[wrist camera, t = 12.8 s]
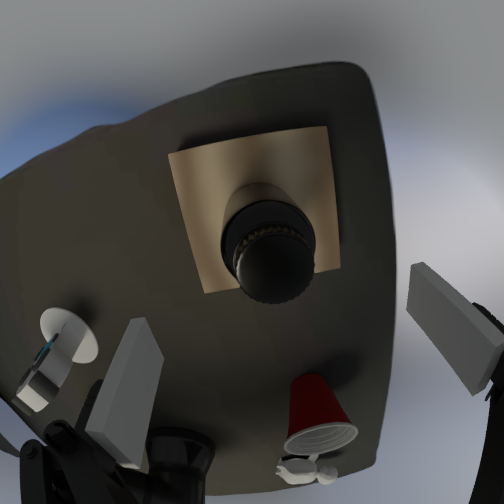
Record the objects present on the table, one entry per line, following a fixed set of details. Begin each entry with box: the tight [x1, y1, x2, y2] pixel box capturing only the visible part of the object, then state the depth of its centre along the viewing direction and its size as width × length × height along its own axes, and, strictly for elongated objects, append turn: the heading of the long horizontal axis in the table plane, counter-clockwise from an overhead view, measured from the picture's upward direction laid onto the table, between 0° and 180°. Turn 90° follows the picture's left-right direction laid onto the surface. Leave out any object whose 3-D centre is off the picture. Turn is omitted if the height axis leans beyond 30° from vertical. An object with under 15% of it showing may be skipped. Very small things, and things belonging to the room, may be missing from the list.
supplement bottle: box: [220, 182, 316, 304], centre depth 22 cm, size 7×7×12 cm
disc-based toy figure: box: [11, 307, 99, 416], centre depth 31 cm, size 12×11×15 cm
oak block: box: [168, 126, 340, 293], centre depth 30 cm, size 15×15×4 cm
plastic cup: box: [284, 373, 358, 455], centre depth 38 cm, size 11×11×12 cm
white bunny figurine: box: [276, 454, 338, 485], centre depth 53 cm, size 9×8×15 cm
